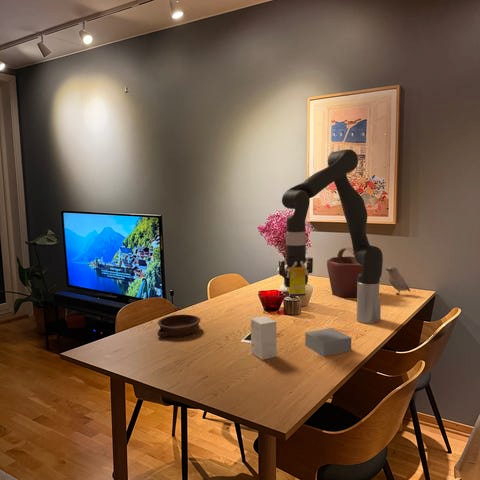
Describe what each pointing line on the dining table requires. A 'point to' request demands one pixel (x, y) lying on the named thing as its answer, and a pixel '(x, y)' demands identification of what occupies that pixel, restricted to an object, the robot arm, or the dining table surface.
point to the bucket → (344, 274)
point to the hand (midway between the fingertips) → (296, 285)
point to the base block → (328, 342)
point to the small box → (263, 337)
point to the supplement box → (297, 281)
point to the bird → (397, 280)
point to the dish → (178, 325)
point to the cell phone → (247, 339)
